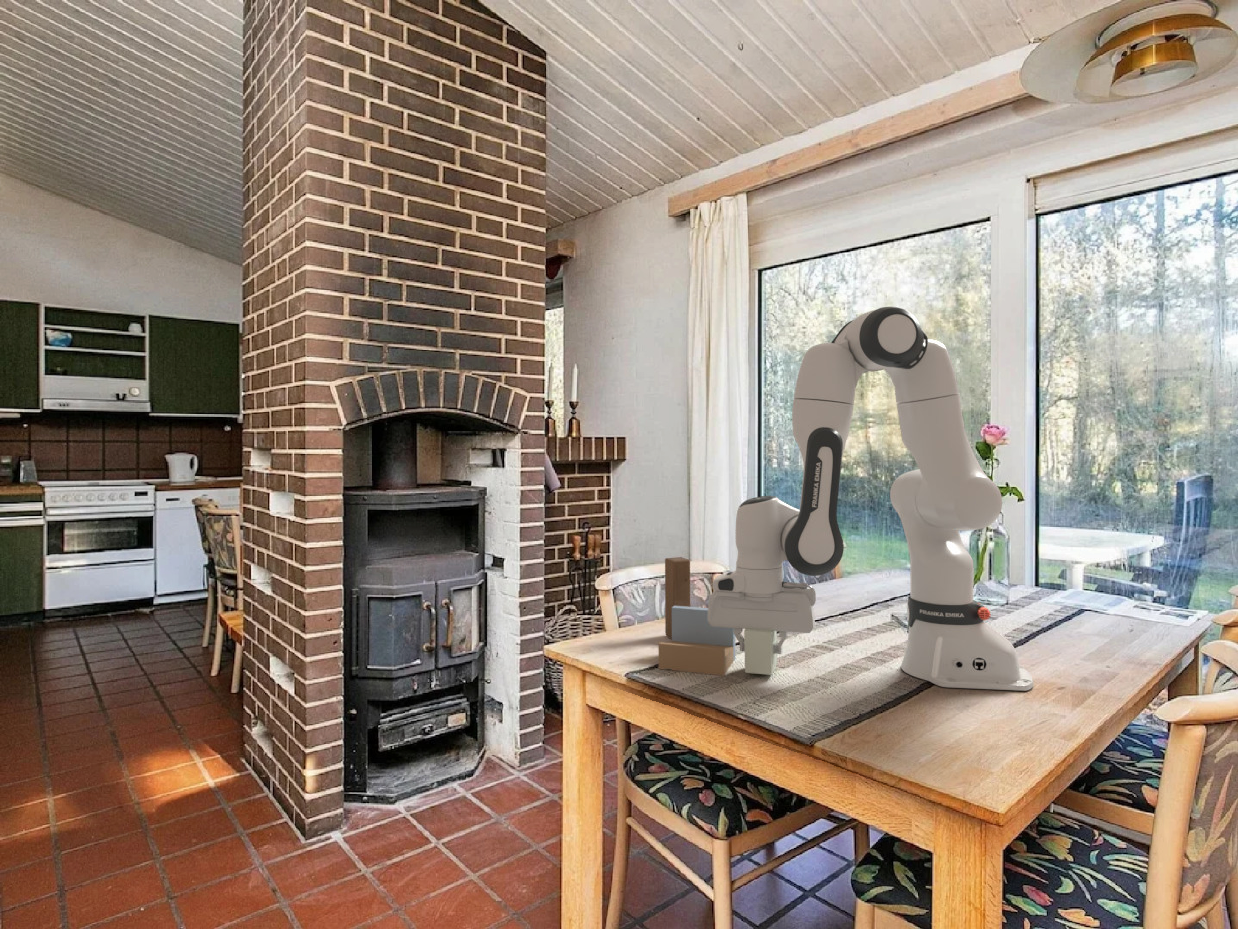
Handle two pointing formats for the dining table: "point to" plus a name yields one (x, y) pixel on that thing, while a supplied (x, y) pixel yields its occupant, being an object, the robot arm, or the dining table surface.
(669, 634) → the wooden block
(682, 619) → the board
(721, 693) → the dining table surface
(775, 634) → the cabinet block
